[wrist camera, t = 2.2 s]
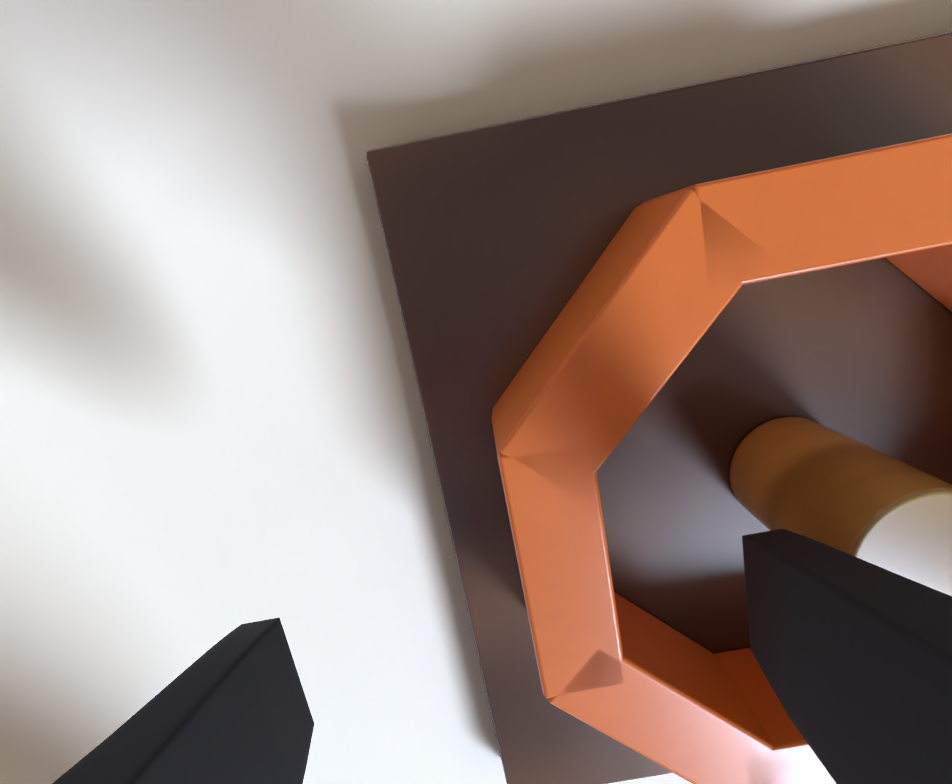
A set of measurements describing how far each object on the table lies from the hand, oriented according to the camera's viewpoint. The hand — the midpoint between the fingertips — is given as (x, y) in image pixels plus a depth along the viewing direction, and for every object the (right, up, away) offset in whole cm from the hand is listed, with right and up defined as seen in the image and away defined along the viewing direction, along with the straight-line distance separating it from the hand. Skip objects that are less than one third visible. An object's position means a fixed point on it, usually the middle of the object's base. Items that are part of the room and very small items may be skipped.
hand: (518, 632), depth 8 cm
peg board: (+6, +2, +5) cm, 8 cm away
